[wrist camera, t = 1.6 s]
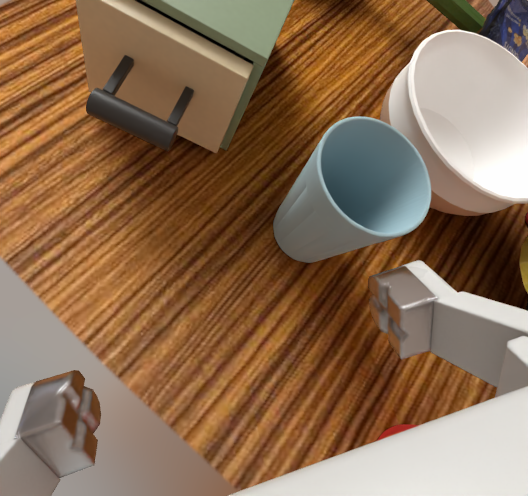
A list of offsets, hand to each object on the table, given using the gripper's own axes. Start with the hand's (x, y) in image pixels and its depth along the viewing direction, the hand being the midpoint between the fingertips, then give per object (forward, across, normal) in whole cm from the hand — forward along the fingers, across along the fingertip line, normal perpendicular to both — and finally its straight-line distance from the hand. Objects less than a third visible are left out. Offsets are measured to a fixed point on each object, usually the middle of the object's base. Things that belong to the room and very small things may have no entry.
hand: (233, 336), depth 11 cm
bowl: (+25, -22, +9) cm, 34 cm away
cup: (+19, -7, +9) cm, 22 cm away
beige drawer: (+26, 0, -3) cm, 26 cm away
